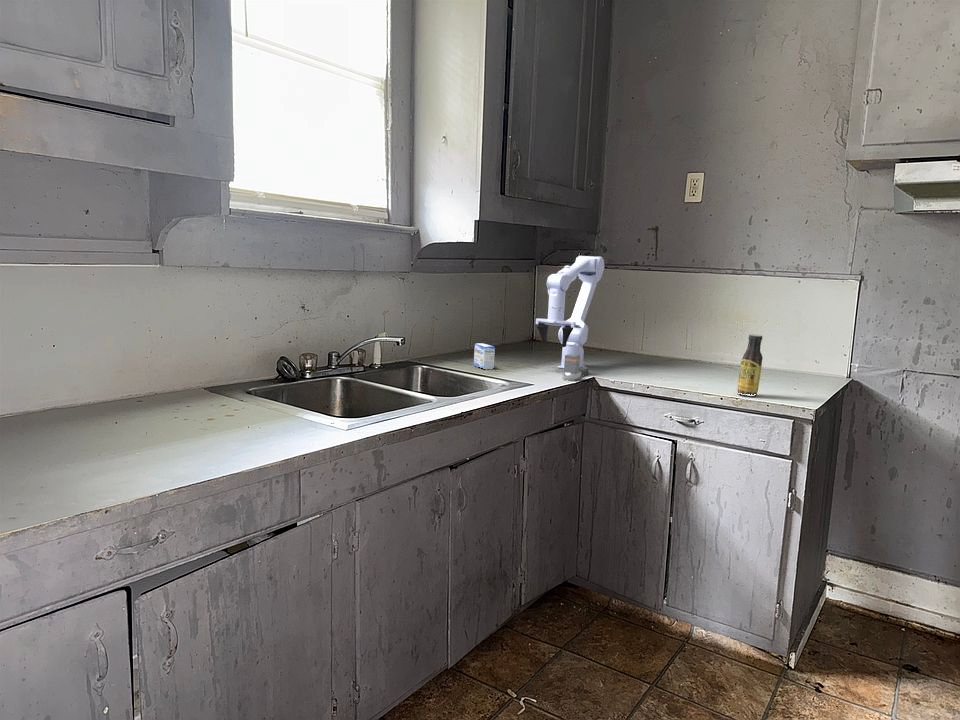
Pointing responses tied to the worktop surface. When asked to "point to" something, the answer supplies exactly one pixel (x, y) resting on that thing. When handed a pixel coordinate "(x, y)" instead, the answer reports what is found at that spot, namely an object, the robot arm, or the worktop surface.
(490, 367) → the medicine box
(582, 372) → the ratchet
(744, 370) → the sauce bottle
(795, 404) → the worktop surface
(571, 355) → the socket
